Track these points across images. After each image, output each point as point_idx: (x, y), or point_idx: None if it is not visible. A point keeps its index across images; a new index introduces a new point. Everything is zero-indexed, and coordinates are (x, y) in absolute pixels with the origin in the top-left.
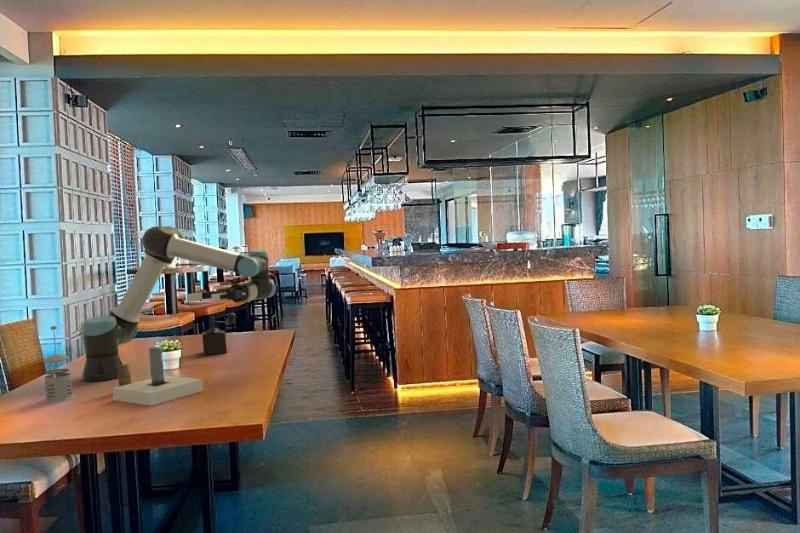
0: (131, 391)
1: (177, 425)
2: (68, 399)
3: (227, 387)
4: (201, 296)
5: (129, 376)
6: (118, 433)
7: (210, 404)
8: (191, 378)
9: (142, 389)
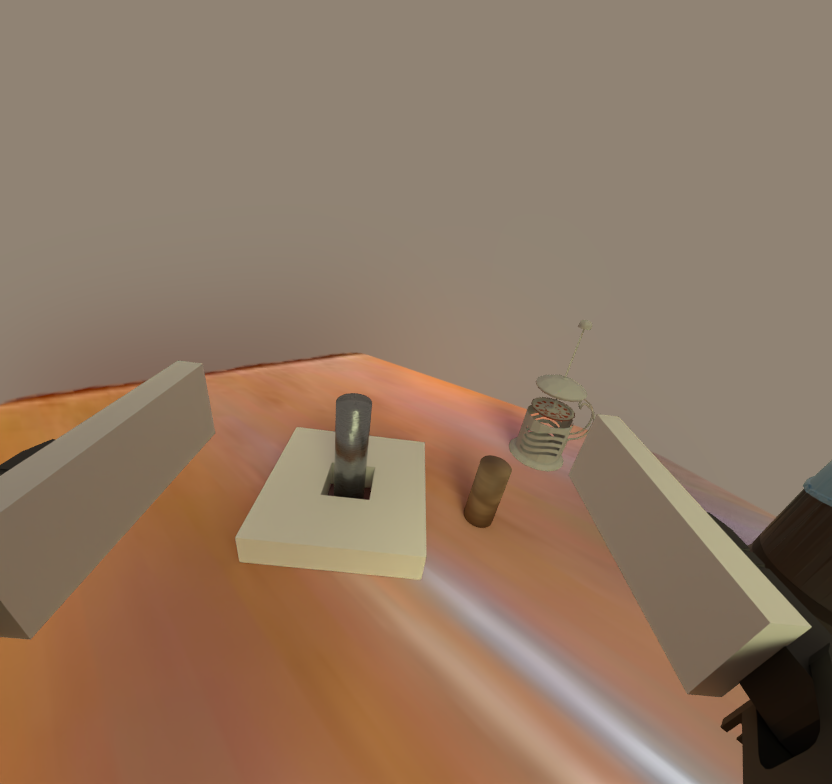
0: None
1: None
2: (511, 450)
3: (156, 626)
4: (708, 645)
5: (474, 490)
6: (250, 372)
7: None
8: (285, 539)
9: None
